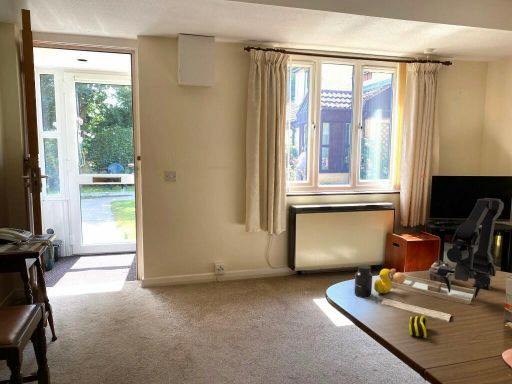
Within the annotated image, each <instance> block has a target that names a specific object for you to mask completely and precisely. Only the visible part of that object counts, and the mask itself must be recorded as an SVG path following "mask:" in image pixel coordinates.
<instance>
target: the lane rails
mask: <svg viewBox="0 0 512 384" xmlns="http://www.w3.org/2000/svg"><path fill="white" fill-rule="evenodd" d="M389 270H390V271H391V270H394V274H395V273H397V272H396V271H397V270H396V268H391V269H389ZM393 276H394V275H393ZM393 276H392V278H391V280H390V281H392V280H393ZM404 276H405V280H409V281H414V282H419V283H423V284H428V285H429V283H430V282H431V281H430V279H425V278H420V277H415V276H412V275H411V276H410V275H405V274H404ZM441 287H442V288H447V284H445V283H441ZM392 288H393V289H399V290H403V291H408V292H412V293H417V294H422V295H427V296H430V297H434V298H439V299H444V300H448V301H452V302H456V303H460V304H465V305H470V304H471V302H470V299H465V298H461V297H456V296H452V295H447V294H443V293H438V292H434V291H429V290H425V289H421V288H416V287H412V286H407V285H403V284H398V283H394V282H392ZM447 289H448V288H447ZM451 290H456V291H461V292H465V293H470V294H474V295H475V289H473V288H468V287H463V286H458V285H454V284H451Z"/></svg>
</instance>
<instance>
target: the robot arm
mask: <svg viewBox="0 0 512 384" xmlns="http://www.w3.org/2000/svg"><path fill="white" fill-rule="evenodd" d="M504 207H505V204H504V202H503V201H502V199H499V198H491V197H490V198H489V197H488V198H487V197H484V198H479V199H477V200H476V202H475V206H474V208H473V210H472V211H471V213H470V214H469V216H468V218H467V219H466V221H465V222H462V223H461V224H460V225H459V226H458V227H457V228H456V229H455V232H454V235H453V236H452V240H451V242H450V243H451V244H452V247H450V248H449V249H448V250H447V252H446V257H447V260H449V261H450V262H451V263H454V264H456V265H455V266H454V270H453V269H452V270H450V267H451V266H450V267H446V266H440V267H439V268H438V270H437V275H440V276H441V277H442V278H444V280H445V282H446V284H447V288H448V291H449V293H450V291H451V285H452V284H451V283H452V282H451V279H452V276H453V277H454V278H453V279H455V280H456V281H463V282H468V281H469V280H470V279H472V280H474V281H473V283H472V287H473V288H475V290H474V296H473V297H474V299H476V298H477V296H478V294H479V292H480V291H481V290H482V289H483V290H486V291H490V289H491V287H492V285H491V284H492V283H491V282H492V277H496V275H497V269H496V266H495V264H494V258H493V255H492V252H491V249H492V243H493V236H494V231H495V225H496V220H497V218H499V216H501V214H502V211H503V210H504ZM479 228H480V232H479ZM477 244H478V246H477V250H476V251H475V246H476V245H477ZM451 275H452V276H451Z"/></svg>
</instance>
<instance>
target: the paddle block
mask: <svg viewBox="0 0 512 384" xmlns="http://www.w3.org/2000/svg"><path fill="white" fill-rule="evenodd" d="M428 290H429V291H434V292H438V293H439V292H440V290H441V282H436V281H431V282H430V283H429V285H428Z"/></svg>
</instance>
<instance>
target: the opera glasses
mask: <svg viewBox="0 0 512 384" xmlns="http://www.w3.org/2000/svg"><path fill="white" fill-rule="evenodd" d="M428 324H429V323H428V318H427V316H424V315H420V316H410V318H409V324H408V329H409V334H410V336H412V337H413V336H416V337H422V338H424V339H426V338H427V328H428Z"/></svg>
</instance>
